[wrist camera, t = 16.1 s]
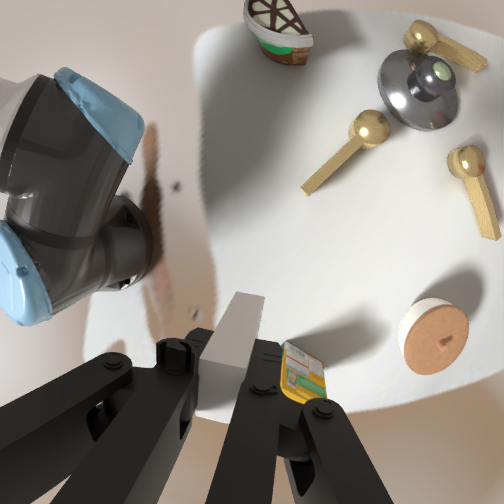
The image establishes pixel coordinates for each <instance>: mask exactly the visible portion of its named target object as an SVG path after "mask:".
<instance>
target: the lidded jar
mask: <svg viewBox="0 0 504 504" xmlns="http://www.w3.org/2000/svg"><path fill="white" fill-rule="evenodd" d="M468 333H469V323H468V319H467V317H466V314H465V313H464V312H463V311H462V310H461V309H460V308H458V307H456V306H454V305H453V304H451V303H450V302H447V301H445V300H443V299H439V298H427V299H423V300H421V301H419V302H417V303H415V304H414V305H412V306H411V307H410V308H409V309H408V310H407V312H406V313H405V314H404V316H403V318H402V320H401V322H400V325H399V329H398V342H399V346H400V350H401V352H402V354H403V356H404V358H405V361H406V363H407V365H408V366H409V368H410V369H411V370H412V371H413V372H415V373H417V374H421V375H430V374H434V373H437V372H440V371H442V370H443V369H445V368H447V367H448V366H449V365H450V364H452V363H453V362H454V361H455V360H456V359H457V357H458V356H459V355H460V353H461V352H462V350H463V348H464V346H465V344H466V341H467V338H468Z"/></svg>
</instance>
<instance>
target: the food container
mask: <svg viewBox="0 0 504 504" xmlns="http://www.w3.org/2000/svg"><path fill="white" fill-rule="evenodd" d="M243 15H244V20H245V23H246V25H247V26H248V28H249V29H250V30H251V31H252V32H253V33H254V34H255V35H256V36H257V39H258V41H259V44H260V46H261V49H262V51H263V52H264V54H265V55H266V56H267V57H269V58H270V59H271V60H273V61H275V62H277V63H280V64H284V65H292V66H296V65H304V64H306V61H307V57H308V53H309V49H310V47H311V46H313V38H312V37H313V34H309V33H308V32H307V30H306V29H305V27H304V25H303V24H302V22H301V20H300V18H299V17H298V15H297V13H296V11H295V10H294V8H293V6H292V4H291V3H290V2H289V0H245V3H244V12H243Z"/></svg>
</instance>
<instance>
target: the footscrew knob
mask: <svg viewBox="0 0 504 504" xmlns="http://www.w3.org/2000/svg"><path fill="white" fill-rule="evenodd" d="M389 133H390V126H389V123H388V120H387V119H386V117H385V116H384V115H383V114H381V113H380V112H378V111H376V110H365V111H363V112H361V113H360V114H359V115H358V117H357V118H356V119H355V120H354V121H353V122H352V124H351V125H350V127H349V137H350V139H351V140H350V141H348V142H347V143H346V144H345V145H344V146H343V147H342V148H341V149H340V150H339V151H338V152H337V153H336V154H335V155H334V156H333V157H331V158H330V159H329V160H328V161H327V162H326V163H325V164H324V165H323V166H322V167H321V168H320V169H319V170H318V171H317V172H316V173H315V174H314V175H313V176H311V177H310V178H309V179H308V180H307V181H306V182H305V183H304V184H303V185H302V186H301V187H300V188H299V189H300V190H301V191H302V192H303V193H304V194H305V195H306V196H309V195H310V194H311V193H313V192H314V191H315V190H316V189H317V188H318V187H319V186H320V185H321V184H322V183H323V182H324V181H325V180H326V179H327V178H328V177H329V176H330V175H331V174H332V173H333V172H335V171H336V170H337V169H338V168H339V167H340V166H341V165H342V164H343V163H344V162H345V161H346V160H347V159H348V158H349V157H350V156H351V155H352V154H353V153H354V152H355V151H357V150H358V149H359V148H361V149H371V148H373V147H375V146H377V145H378V144H380V143H382V142H384V141H385V140H386V139H387V138H388V136H389Z"/></svg>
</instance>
